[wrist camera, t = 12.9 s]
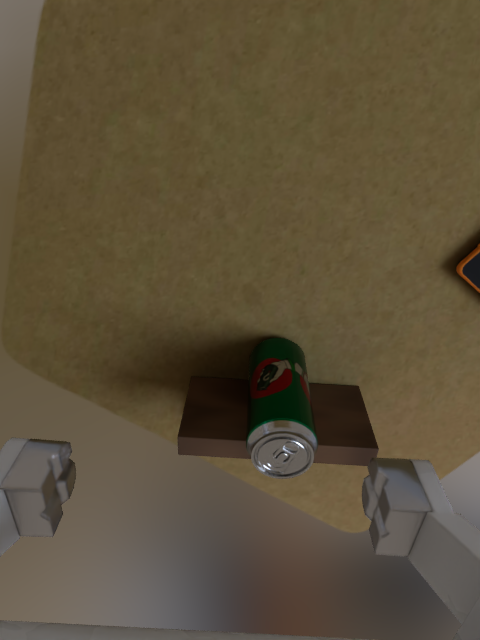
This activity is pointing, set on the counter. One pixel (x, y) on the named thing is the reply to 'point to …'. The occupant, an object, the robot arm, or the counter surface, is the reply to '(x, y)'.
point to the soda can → (280, 410)
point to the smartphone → (471, 268)
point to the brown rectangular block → (231, 422)
